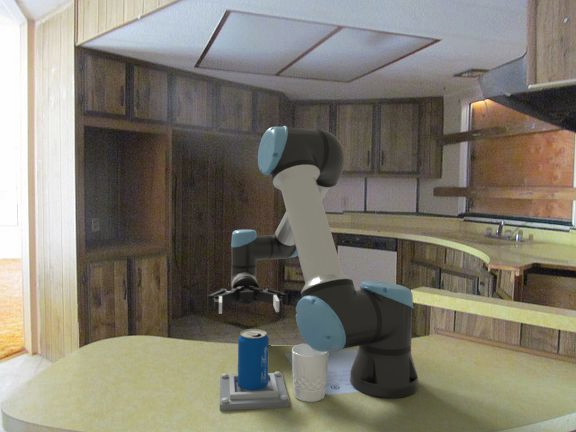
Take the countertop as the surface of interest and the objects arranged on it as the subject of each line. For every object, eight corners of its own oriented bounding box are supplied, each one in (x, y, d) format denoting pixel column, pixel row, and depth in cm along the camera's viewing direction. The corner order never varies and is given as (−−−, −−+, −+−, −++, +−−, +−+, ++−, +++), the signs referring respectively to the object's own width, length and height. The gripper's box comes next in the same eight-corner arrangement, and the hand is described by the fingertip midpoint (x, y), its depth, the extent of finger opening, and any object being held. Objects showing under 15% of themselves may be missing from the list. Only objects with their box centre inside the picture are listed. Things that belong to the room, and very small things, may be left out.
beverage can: (254, 397, 97) (254, 340, 96) (231, 388, 101) (232, 333, 100) (273, 386, 102) (274, 332, 101) (251, 378, 106) (252, 326, 105)
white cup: (302, 406, 96) (303, 358, 95) (284, 391, 103) (285, 346, 102) (334, 398, 100) (335, 352, 99) (315, 384, 107) (316, 341, 106)
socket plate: (281, 378, 110) (281, 369, 109) (289, 407, 96) (289, 396, 96) (220, 380, 108) (220, 371, 107) (219, 410, 94) (219, 399, 94)
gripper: (288, 300, 135) (300, 321, 114) (200, 302, 131) (196, 324, 110) (289, 274, 134) (301, 290, 113) (200, 276, 131) (195, 292, 110)
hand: (249, 307), depth 112 cm, fingers open, 13 cm apart
